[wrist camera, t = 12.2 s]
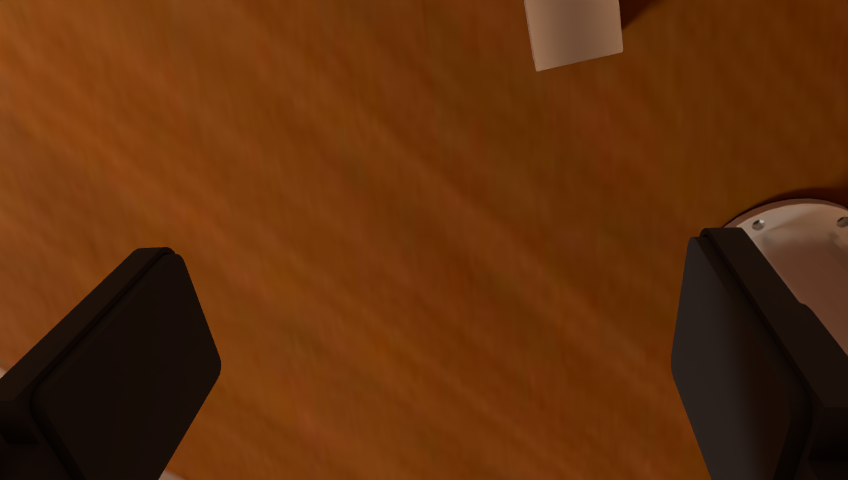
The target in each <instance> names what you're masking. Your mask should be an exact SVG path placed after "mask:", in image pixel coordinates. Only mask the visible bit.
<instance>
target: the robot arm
mask: <svg viewBox="0 0 848 480" xmlns="http://www.w3.org/2000/svg"><path fill="white" fill-rule="evenodd" d="M671 369H672V374H673V378H674V381H675V383H676V386H677V389H678V391H679V394H680V397H681V399H682V402H683V405H684V407H685V410H686V413H687V415H688V418H689V421H690V423H691V426H692V429H693V431H694V434H695V437H696V439H697V442H698V445H699V447H700V450H701V453H702V455H703V458H704V461H705V463H706V466H707V469H708V471H709V474H710V477H711V479H712V480H848V209H847V208H846V207H844V206H842V205H839V204H836V203H833V202H829V201H826V200H818V199H810V198H806V199H789V200H784V201H778V202H773V203H770V204H767V205H764V206H761V207H758V208H755V209H753V210H751V211H749V212H747V213H745V214H743V215H741V216H739V217H737V218H736V219H735V220H733V221H732V222H730V223H729V224H728V225H726V226H725V227H723V228H704V229H703V230H702V231H701V233H700V236H699V237H691V238H690V240H689V242H688V247H687V254H686V261H685V267H684V274H683V281H682V287H681V294H680V301H679V307H678V314H677V321H676V327H675V334H674V341H673V347H672V354H671ZM220 371H221V360H220V356H219V354H218V351H217V348H216V346H215V343H214V340H213V338H212V335H211V332H210V330H209V327H208V324H207V321H206V319H205V316H204V313H203V311H202V308H201V305H200V303H199V300H198V297H197V295H196V292H195V289H194V287H193V284H192V281H191V278H190V276H189V273H188V270H187V268H186V265H185V262H184V260H183V258H182V257H181V256H180V255H178V254H175V252H174V251H173V250H172V249H170V248H168V247H158V248H138V249H136V250H135V251H133V252H132V253H131V254H130V255H129V256H128V257H127V258H126V259H125V260H124V261H123V262H122V263H121V264H120V265H119V266H118V267H117V268H116V269H115V270H114V271H113V272H111V273H110V274H109V275H108V276H107V277H106V278H105V279H104V280H103V281H102V282H101V283H100V284H99V285H98V286H97V287H96V288H95V289H94V290H93V291H92V292H91V293H90V294H88V295H87V296H86V297H85V298H84V299H83V300H82V301H81V302H80V303H79V304H78V305H77V306H76V307H75V308H74V309H73V310H72V311H71V312H70V313H69V314H68V315H66V316H65V317H64V318H63V319H62V320H61V321H60V322H59V323H58V324H57V325H56V326H55V327H54V328H53V329H52V330H51V331H50V332H49V333H48V334H47V335H46V336H45V337H43V338H42V339H41V340H40V341H39V342H38V343H37V344H36V345H35V346H34V347H33V348H32V349H31V350H30V351H29V352H28V353H27V354H26V355H25V356H24V357H23V358H22V359H20V360H19V361H18V362H17V363H16V364H15V365H14V366H13V367H12V368H11V369H10V370H9V371H8V372H7V373H6V374H5V375H4V376H3V377H2V378H1V379H0V480H158V479H159V478H160V476H161V474H162V473H163V471H164V469H165V467H166V466H167V464H168V462H169V461H170V459H171V457H172V456H173V454H174V452H175V450H176V449H177V447H178V445H179V444H180V442H181V440H182V438H183V437H184V435H185V433H186V432H187V430H188V428H189V427H190V425H191V423H192V421H193V420H194V418H195V416H196V415H197V413H198V411H199V410H200V408H201V406H202V404H203V403H204V401H205V399H206V398H207V396H208V394H209V393H210V391H211V389H212V387H213V386H214V384H215V382H216V381H217V379H218V377H219V375H220Z"/></svg>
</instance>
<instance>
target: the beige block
mask: <svg viewBox="0 0 848 480" xmlns="http://www.w3.org/2000/svg"><path fill="white" fill-rule="evenodd" d="M524 4H525V10H526V17H527V23H528V29H529V35H530V42H531V48H532V54H533V59H534V63H535V67H536V71H541V70H545V69H550V68H554V67H558V66H563V65H567V64H572V63H576V62H580V61H585V60H589V59H594V58H598V57H602V56H607V55H611V54H616V53H620V52H623V45H622V33H621V21H620V10H619V0H524Z"/></svg>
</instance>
